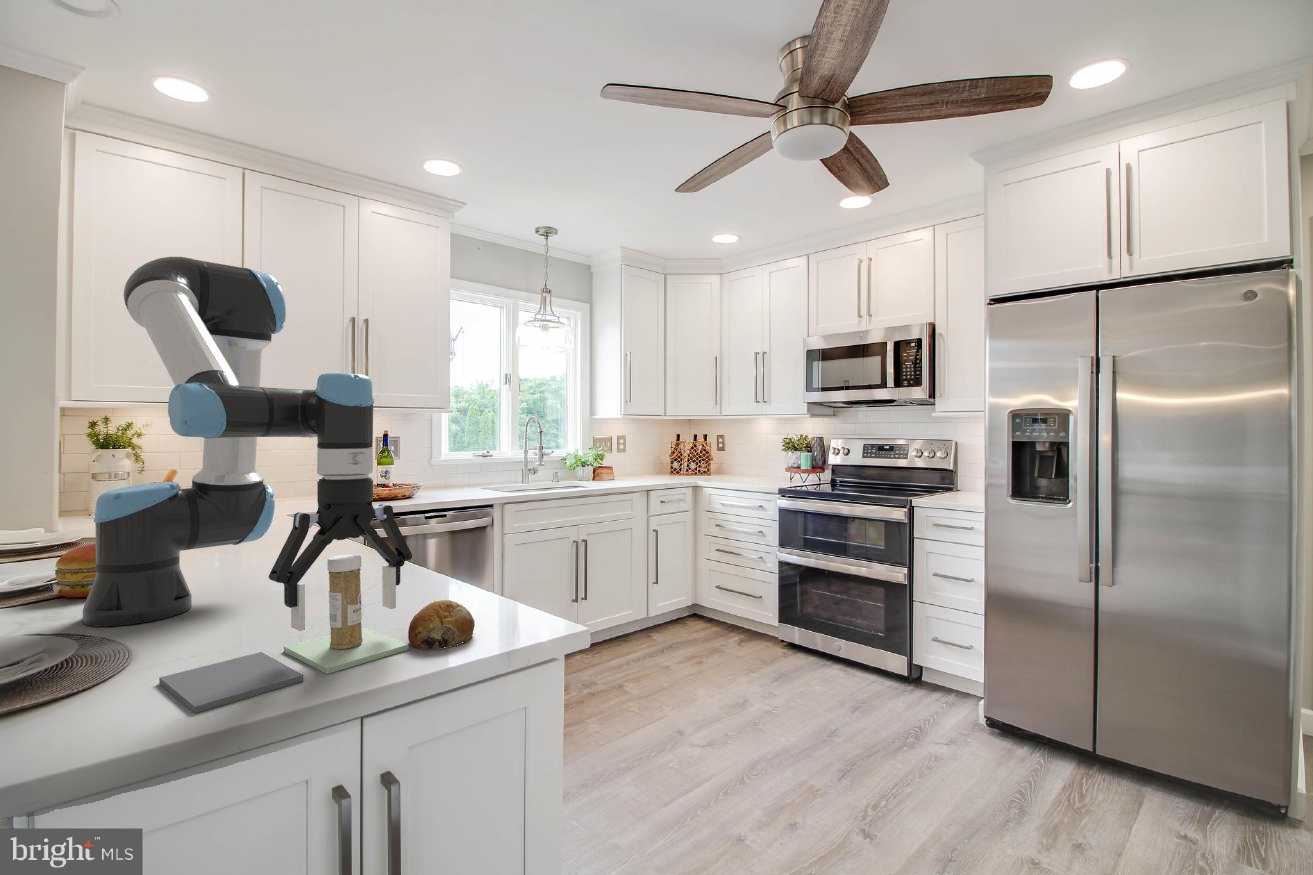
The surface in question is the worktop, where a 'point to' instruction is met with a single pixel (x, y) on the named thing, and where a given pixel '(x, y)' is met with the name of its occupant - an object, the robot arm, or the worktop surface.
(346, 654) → the pad
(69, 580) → the burger
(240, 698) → the pad
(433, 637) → the bread roll
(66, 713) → the worktop surface
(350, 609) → the spice jar
